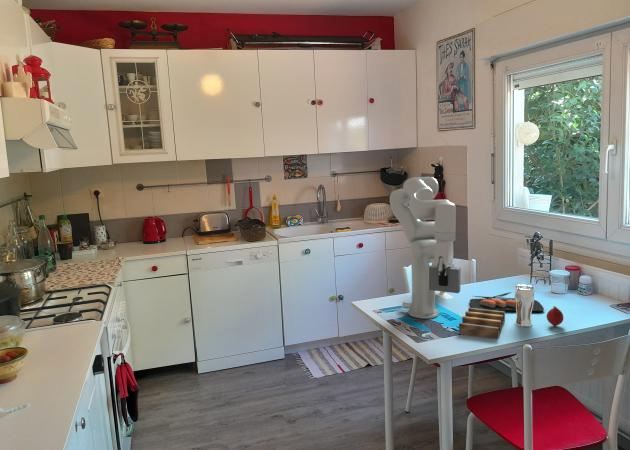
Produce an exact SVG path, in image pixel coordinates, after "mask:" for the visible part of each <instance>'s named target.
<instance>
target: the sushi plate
mask: <svg viewBox="0 0 630 450" xmlns="http://www.w3.org/2000/svg"><path fill="white" fill-rule="evenodd" d="M511 293H512V291H509V292H506V293H502V294H498V295H493V296H480V295H478V296H476V295H473V296H474V297H473V298H471V299H469V304H470V306H471V308H477V309H486V310H495V311H504V312H507V311H509V312H511V311H512V312H516V307H515V297H503V296H507V295H508V294H511ZM475 297H476V298H475ZM481 297H482V298H481ZM544 310H545V309H544V306H543V305H542V304H541V302H540V301H538V300H535V299H534V303H533V308H532V312H543V311H544Z"/></svg>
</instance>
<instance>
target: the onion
mask: <svg viewBox="0 0 630 450" xmlns="http://www.w3.org/2000/svg"><path fill="white" fill-rule="evenodd" d="M546 319H547V322H548V323H549V324H551V325H552V326H553V327H556V326H559V325H560V324H562V323H563V321H564V314H563V312H562V311H561V310H560V309H559V308H558V307H557V306H556V305H553V307H552V308H551V309H549V310H548V312H547V313H546Z"/></svg>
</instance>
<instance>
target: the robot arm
mask: <svg viewBox="0 0 630 450" xmlns="http://www.w3.org/2000/svg"><path fill="white" fill-rule="evenodd" d="M402 187H403V188H400V189H399V188H398V189H395V190H393V191H392V192H391V193H390V195H389V206H390V208H391V212H392V213H393V216H394V217H395V218H396V219H397V220H398V222H399V224H400V225H401V228H402V230H403V233H404V235H405V237H406V240H407V242H408V243H409V244H410V245H409V249H408V250H409V251H408V252H409V258H410V263H411V264H410V265H411V301H409V302H407V301H402V304H401V305H402V307H403V308H404V309H408V311H407V314H408V315H409V316H410V317H412V318H416V319H424V320H425V319H435V318H438V316H439V315H440V312H439V309H437V308H436V294H435V291H432V290H429V267H430V266H431V265H430V264H432V263H433V262H434V266H435V267H437V266H439V269H438V271H439V285H440V286H448V275H447V267H450V265H451V264H452V263H454V242H455V241H456V233H457V232H456V231H457V230H456V228H457V227H456V225H457V224H456V223H457V219H456V216H457V215H456V213H457V211H456V210H457V206H456V204H455V203H453V202H451V201H449V200H448V199H435V197H437V195H438V193H439V182H438V180H437V179H436V178H434V177H433V176H417V177H415V176H414V177H410V178H408V179H406V180H405V181H404V182H403V186H402ZM432 220H433V221H432ZM443 266H445V267H443ZM443 269H445V271H444V270H443Z"/></svg>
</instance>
